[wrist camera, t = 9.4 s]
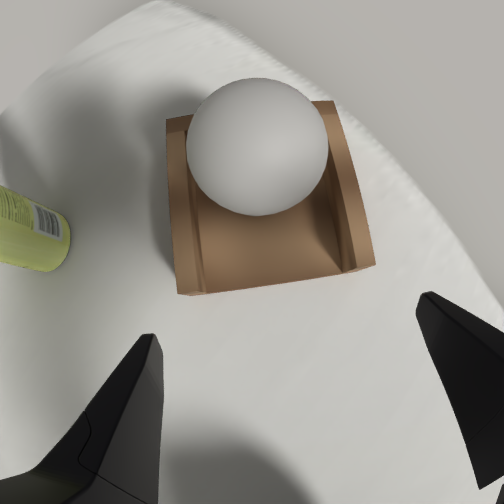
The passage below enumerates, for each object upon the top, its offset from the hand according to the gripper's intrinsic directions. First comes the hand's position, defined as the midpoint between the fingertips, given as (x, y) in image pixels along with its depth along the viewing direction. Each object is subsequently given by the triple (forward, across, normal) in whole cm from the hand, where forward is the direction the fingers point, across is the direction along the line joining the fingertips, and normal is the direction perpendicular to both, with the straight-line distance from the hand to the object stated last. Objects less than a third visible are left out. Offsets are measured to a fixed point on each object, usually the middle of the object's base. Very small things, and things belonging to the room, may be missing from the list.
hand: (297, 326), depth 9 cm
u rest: (+13, 0, +2) cm, 13 cm away
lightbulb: (+13, 0, +1) cm, 13 cm away
